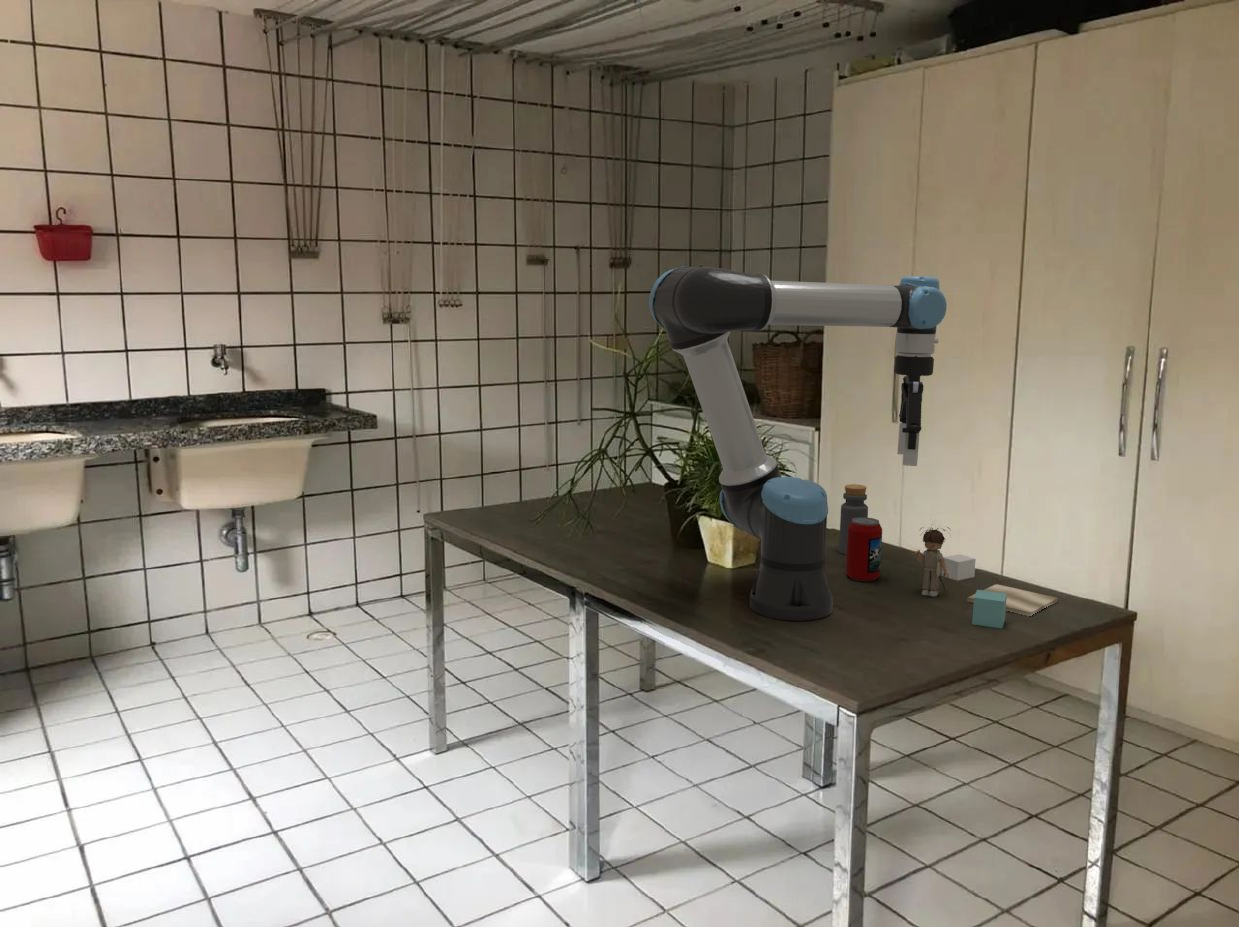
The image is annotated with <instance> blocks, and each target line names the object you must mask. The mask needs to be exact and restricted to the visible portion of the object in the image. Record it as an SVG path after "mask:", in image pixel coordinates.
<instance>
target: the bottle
mask: <svg viewBox="0 0 1239 927" xmlns="http://www.w3.org/2000/svg"><path fill="white" fill-rule="evenodd" d="M867 488H868V487H867V486H866V485H863V484H856V483H854V484H850V483H849V484H846V485H844V490H845V491H844V493H843V495H842V498H843V499H844V500H845V502H843V503H842V504H841V505H840V522H839V540H838V541H839V542H838V544H839V546H838V552H839V553H840V554H842V555H846V556H847V539H848V527H849V525H850V523H851V522H852V519H853V518H859V517H866V518H869V516H868V515H869V506H868V505H867V504H865V501H867V499H868V494H866V491H867Z"/></svg>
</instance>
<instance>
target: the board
mask: <svg viewBox="0 0 1239 927" xmlns="http://www.w3.org/2000/svg"><path fill="white" fill-rule="evenodd" d="M982 590H983V591H991V592H999V593H1007V598H1006V611H1005V612H1008V611H1010V613H1012V612H1014V613H1013V614H1017V613H1018V614H1017V615H1021V614H1022V615H1021V616H1025V615H1026V616H1025V617H1029V616H1031V617H1032V615H1033V614H1034V615H1036V614H1038V613H1040V612H1041V610H1042V609H1044V608H1046V607H1047V608H1049V607H1051V606H1053V605H1054V604H1056V603H1058V601H1059V600H1058V599H1059V598H1058V597H1054V596H1050V595H1046V594H1042V593H1037V592H1034V591H1028V590H1024V589H1019V588H1017V587H1011V586H1007V585H1002V584H998V583H996V584H995V583H994V585H993V584H992V586H988V587H987V588H985V589H982ZM975 594H976V593H974V594H972V595H970V596H968V597H967V598H966V599H967V602H969V603H973V604H974V596H975ZM1050 605H1051V606H1050ZM1048 606H1049V607H1048ZM1047 608H1046V609H1047ZM1044 610H1045V609H1044ZM1039 611H1040V612H1039ZM1042 611H1043V610H1042ZM1037 612H1038V613H1037ZM1035 613H1036V614H1035ZM1034 615H1033V616H1034Z"/></svg>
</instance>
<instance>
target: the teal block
mask: <svg viewBox="0 0 1239 927" xmlns="http://www.w3.org/2000/svg"><path fill="white" fill-rule="evenodd" d="M983 590H984V589H976V592H975V593H974V594H975V596H974V603H973V604H972V606H973V607H972V622H971V625H975V626H981V627H988V628H995V629H1001V630H1002V629H1003V627H1004V624H1005V620H1006V612H1007V611H1006V598H1007V593H999V592H991V591H983Z"/></svg>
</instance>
